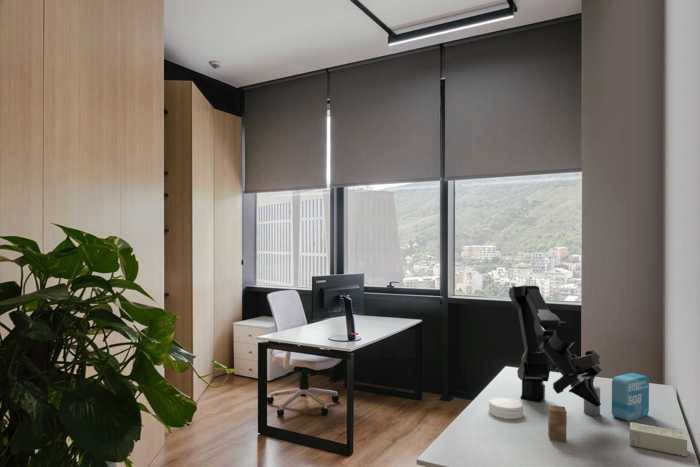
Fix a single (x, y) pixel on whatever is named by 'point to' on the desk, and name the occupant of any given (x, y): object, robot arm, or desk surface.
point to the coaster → (506, 408)
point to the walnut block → (557, 423)
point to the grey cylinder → (591, 408)
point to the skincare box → (658, 439)
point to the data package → (630, 396)
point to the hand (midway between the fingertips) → (599, 405)
